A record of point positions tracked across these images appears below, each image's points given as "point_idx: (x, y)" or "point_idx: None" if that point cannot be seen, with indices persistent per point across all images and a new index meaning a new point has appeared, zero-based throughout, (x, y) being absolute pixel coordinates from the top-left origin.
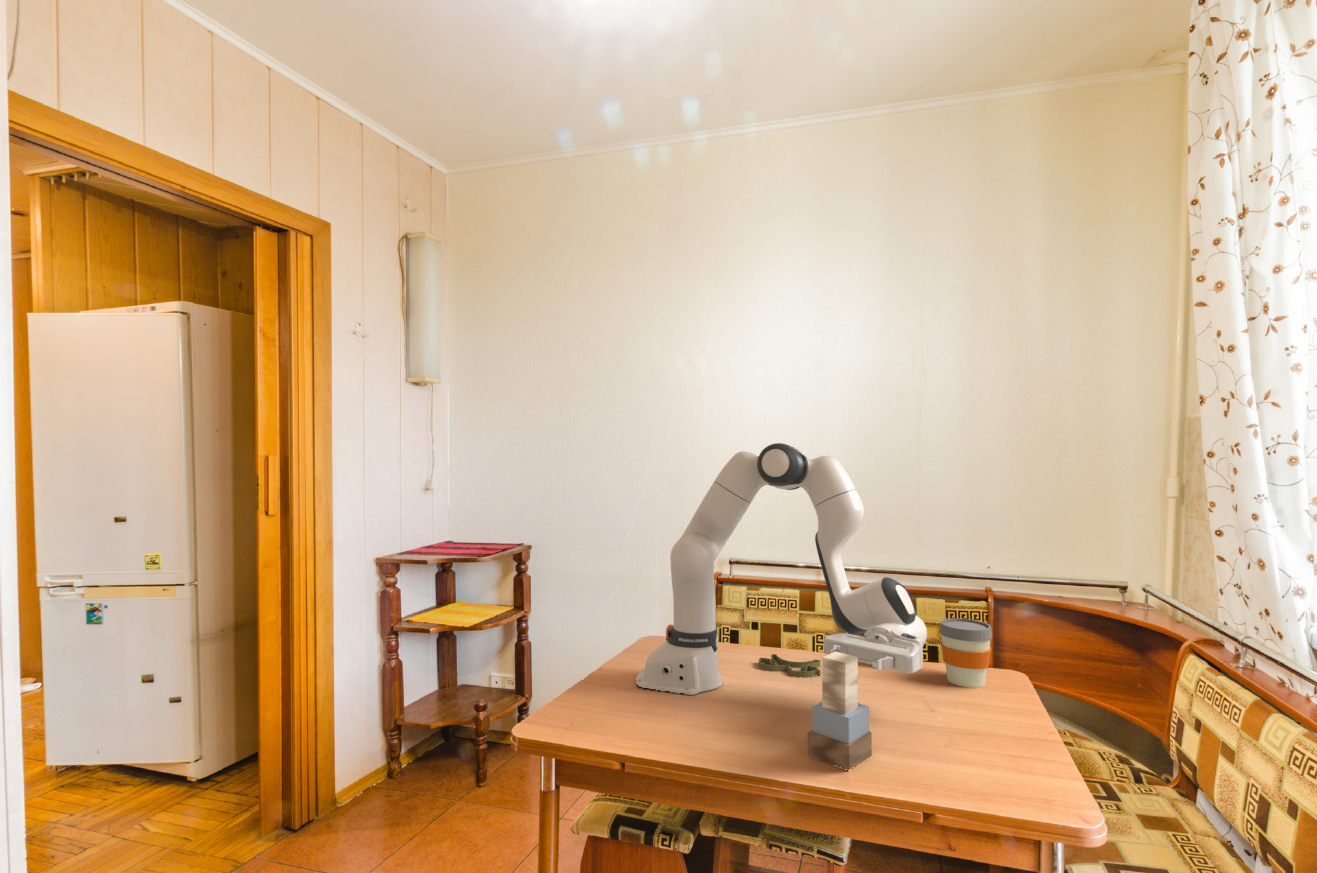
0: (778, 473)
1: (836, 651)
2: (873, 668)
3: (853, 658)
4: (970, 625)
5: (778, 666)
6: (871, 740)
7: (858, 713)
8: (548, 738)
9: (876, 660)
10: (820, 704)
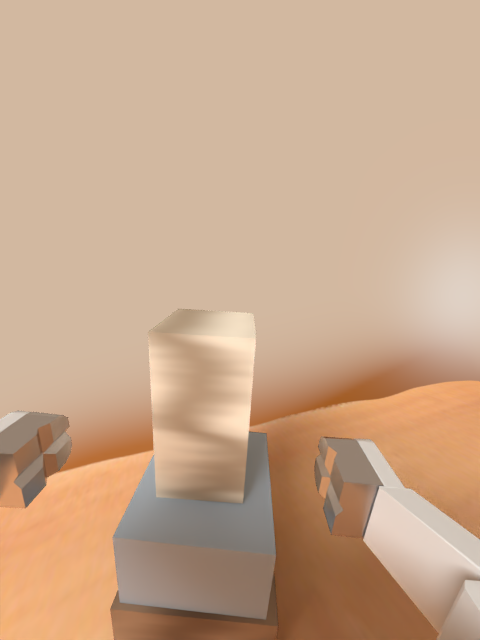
0: None
1: (329, 439)
2: (60, 461)
3: (162, 323)
4: None
5: None
6: (113, 628)
7: (149, 465)
8: (456, 382)
9: (30, 413)
10: (260, 453)
